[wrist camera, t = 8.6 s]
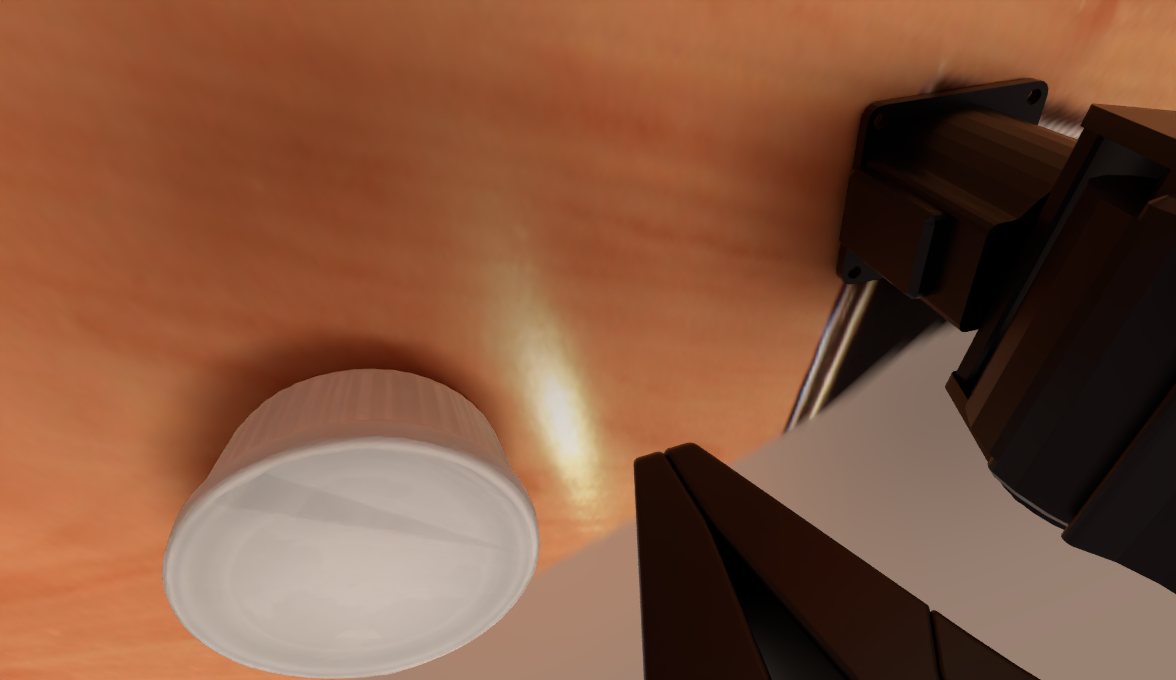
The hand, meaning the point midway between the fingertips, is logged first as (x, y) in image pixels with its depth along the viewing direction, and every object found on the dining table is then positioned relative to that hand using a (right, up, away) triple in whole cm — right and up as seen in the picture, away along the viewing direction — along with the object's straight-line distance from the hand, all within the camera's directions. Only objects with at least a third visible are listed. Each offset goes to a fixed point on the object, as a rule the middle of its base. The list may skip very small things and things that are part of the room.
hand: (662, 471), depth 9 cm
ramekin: (-9, -3, +16) cm, 19 cm away
